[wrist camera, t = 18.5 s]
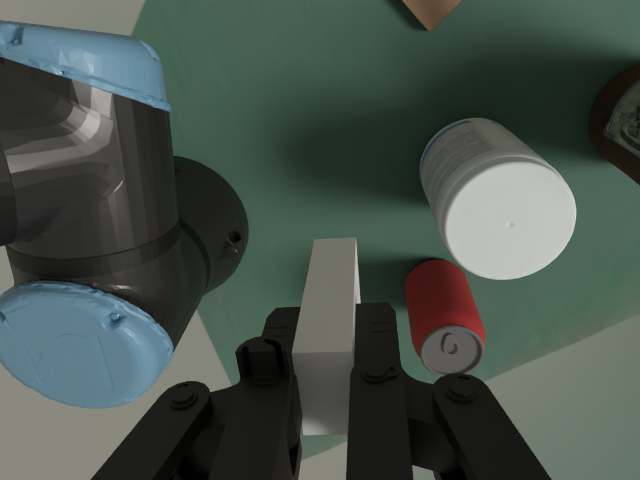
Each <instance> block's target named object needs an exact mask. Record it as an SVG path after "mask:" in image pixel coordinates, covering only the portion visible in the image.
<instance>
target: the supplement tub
mask: <svg viewBox="0 0 640 480" xmlns="http://www.w3.org/2000/svg"><path fill="white" fill-rule="evenodd" d="M420 180H421V183H422V187H423V189H424V192H425V195H426V198H427V200H428V203H429V206H430V209H431V211H432V214H433V217H434V219H435V222H436V225H437V228H438V230H439V233H440V235H441V238H442V240H443V242H444V244H445V245H446V247H447V248H448V250H449V251H450V253H451V254H452V256H453V257H454V259H455V260H456V261H457V262H458V263H459V264H460V265H461V266H462V267H464V268H465V269H466V270H468V271H470V272H472V273H473V274H476V275H478V276H481V277H484V278H489V279H496V280H507V279H515V278H520V277H523V276H527V275H530V274H532V273H534V272H536V271H538V270H540V269H542V268H543V267H545V266H547V265H548V264H549V263H550V262H552V261H553V260H554V259H555V258H556V257H557V256H558V255H559V254H560V253H561V252H562V251H563V249H564V248H565V246H566V245H567V243H568V242H569V240H570V238H571V236H572V233H573V230H574V227H575V221H576V205H575V200H574V197H573V194H572V192H571V190H570V188H569V187H568V185H567V184H566V182H565V181H564V179H563V178H562V176H561V175H560V174H559V173H558V172H557V171H556V170H555V169H554V168H553V167H552V166H551V165H550V164H548V163H547V162H546V161H545V160H544V159H542V158H541V157H540V156H539V155H538V154H537V153H535V152H534V151H533V150H532V149H531V148H529V147H528V146H527V145H526V144H525V143H523V142H522V141H521V140H520V139H519V138H517V137H516V136H515V135H514V134H513V133H511V132H510V131H509V130H508V129H506V128H505V127H504V126H502V125H501V124H499V123H497V122H495V121H492V120H489V119H484V118H467V119H463V120H459V121H457V122H454V123H452V124H450V125H448V126H446V127H444V128H443V129H441V130H440V131H439V132H438V133H436V134H435V135H434V137H433V138H432V139H431V140H430V141H429V143H428V144H427V146H426V148H425V150H424V152H423V154H422V157H421V162H420Z"/></svg>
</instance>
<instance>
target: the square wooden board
mask: <svg viewBox="0 0 640 480" xmlns="http://www.w3.org/2000/svg"><path fill="white" fill-rule="evenodd" d="M401 1H402V2H403V3H404V4H405V5H406V7H407V8H408V9H409V10H410V11H411V12H412V14H413V15H414V16H415V17H416V18H417V19H418V20H419V22H420V23H421V24H422V25H423V26H424V27H425V29H426V30H427V31H429V32H430V31H431V30H432V29H433V28H434V27H435V26H436V25H437V24H438V23H439V22H440V21H441V20H443V19H444V18H445V17H446V16H447V15H448V14H449V13H450V12H451V11H452V10H453V9H454V8H455V7H456V6H457V5H458V4H459V3H460V2H461V1H462V0H401Z"/></svg>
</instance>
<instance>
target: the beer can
mask: <svg viewBox="0 0 640 480" xmlns="http://www.w3.org/2000/svg"><path fill="white" fill-rule="evenodd" d="M405 295H406V302H407V309H408V316H409V323H410V330H411V338H412V343H413V346H414V348H415V351H416V353H417V355H418V356H419V357H420V358H421V360H422V363H423V365H424V366H425V367H426V368H427V369H428V370H429V371H431V372H432V373H434V374H436V375H439V376H445V375H448V374H454V373H462V374H468V373H470V372H471V371H473V370H474V369H475V368H476V367H477V366H478V365H479V364H480V363H481V361H482V359H483V357H484V349H485V348H484V345H485V330H484V327H483V324H482V321H481V319H480V316H479V313H478V310H477V308H476V305H475V302H474V299H473V297H472V294H471V291H470V288H469V286H468V283H467V280H466V277H465V275H464V273H463V272H462V271H461V269H460V268H459V267H458V266H456V265H454V264H453V263H451V262H448V261H444V260H430V261H427V262H423V263H421V264H420V265H418V266H417V267H415V268H414V269H413V270H412V271H411V272H410V274H409V275H408V277H407V280H406V282H405Z"/></svg>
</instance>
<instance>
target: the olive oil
mask: <svg viewBox="0 0 640 480" xmlns="http://www.w3.org/2000/svg"><path fill="white" fill-rule="evenodd" d="M589 132H590V137H591V140H592V142H593V144H594V146H595V148H596V149H597V151H598V152H599V153H600V154H601V155H602V156H603V157H604V158H606V159H607V160H608V161H609V162H611V163H612V164H613V165H615V166H616V167H617V168H619V169H620V170H621V171H623V172H624V173H625V174H627V175H628V176H629V177H630V178H632V179H633V180H634V181H635V182H636V183H638V184H639V185H640V64H639V65H636V66H633V67H631V68H629V69H627V70H625V71H623V72H622V73H620V74H619V75H617V76H616V77H615V78H613V79H612V80H611V81H610V82H609V83H608V84H607V85H606V86H605V87H604V89H603V90H602V91H601V92H600V94H599V95H598V97H597V99H596V101H595V103H594V105H593V107H592V110H591V114H590V119H589Z"/></svg>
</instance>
